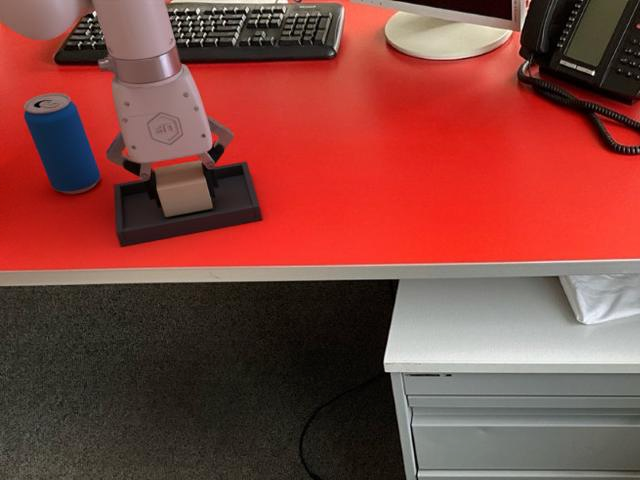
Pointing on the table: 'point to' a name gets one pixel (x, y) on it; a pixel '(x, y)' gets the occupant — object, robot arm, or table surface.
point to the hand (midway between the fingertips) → (186, 196)
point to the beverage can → (61, 143)
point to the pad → (182, 188)
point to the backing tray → (151, 224)
